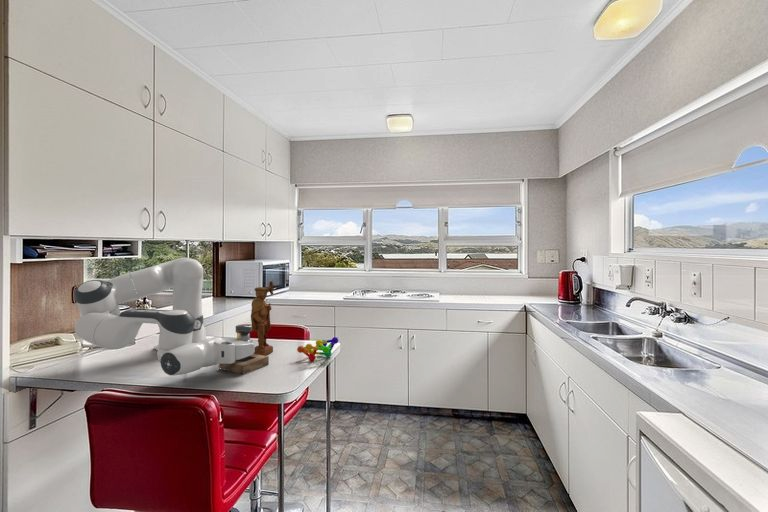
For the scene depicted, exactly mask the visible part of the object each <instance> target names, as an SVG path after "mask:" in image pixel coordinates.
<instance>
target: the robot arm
mask: <svg viewBox="0 0 768 512" xmlns="http://www.w3.org/2000/svg"><path fill="white" fill-rule="evenodd" d="M203 287H204V267H203V265H202V263H201V262H200V261H198V260H196V259H195V258H190V257H180V258H179V257H178V258H176V259H172V260H169V261H166V262H165V261H164V262H163V263H159V264H156V265H152V266H149V267H146V268H141V269H138V270H135V271H131V272H127V273H123V274H121V275H118V276H116V277H115V276H114V277H112V278H110V279H108V280H106V281H105V280H102V279H92V280H86V281H85V282H82V283H80V284H79V285H78V286H77V287H76V288H75V290H74V292H73V297H74V301H75V302H76V305H77V308H78V310H79V312H80V317H79V318H78V319H77V321H76V322H75V324H74V332H75V335H76V336H77V337H78V338H80V339H82V340H83V341H84V342H87V343H88V344H91V345H94V346H98V347H100V348H103V349H108V350H120V349H124V348H126V347H127V346H128V345H129V344H131V343H132V342H133V341H134V340H135V339H136V337H137V336H138V335H139V332H140V329H141V327H142V325H143V324H151V325H152V324H153V325H155V324H156V325H158V326H157V327H158V328H159V333H158V344H157V345H155V346H153V349H154V350H155V349H156V351H157V350H158V351H157V352H156V353H157V355H156V357H157V361H158V362H159V363H160V367H161V369H162V371H163V372H164V373H165V374H166V375H168V376H181V375H185V374H190V373H194V372H196V371H199V370H200V369H202V368H206V367H207V368H208V367H210V366H216V365H220V364H232V363H234V362H235V360H239V359H242V358H245V357H248V356H250V355H252V354H254V352H255V347H256V346H255V343H254V341H253V340H252V339H250V340H247V341H246V342H245V341H239V340H237V338H227V337H222V336H221V337H220V336H213V337H210V338H207V334H206V327H205V326H204V315H203V308H202V307H203V301H202V299H203V298H202V296H203V295H202V294H203ZM170 289H172V299H171V301H172V310H171V309H170V310H168V309H166V310H165V309H151V308H150V309H148V308H147V309H145V308H138V309H137V308H133V309H127V310H124V311H121V310H120V306H119V305H120V304H123V303H127V302H128V303H130V302H133V301H136V300H139V299H143V298H146V297H150V296H153V295H157V294H160V293H162V292H165V291H167V290H170Z"/></svg>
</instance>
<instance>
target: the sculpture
mask: <svg viewBox="0 0 768 512" xmlns="http://www.w3.org/2000/svg"><path fill="white" fill-rule="evenodd" d="M274 288H275V284H274V282H273V280H269V283H268V286H263V287H261V286H259V287H257V286H256V287H255V288H254V289H253V290H254V291H255V296H256V297H253V299H252V301H251V310H250V321H251V322H250V323H251V325H252V332H256V333H257V338H258V339H257V342H258V344H257V345H256V346H255V352H254V354H258V355H263V356H268V355H270V354H271V353H273V352H274V346H273V345H270V344H268V343H267V339H268V337H267V335H268V331H270V330H271V329H272V325H271V317H270V316H271V313H270V312H271V311H272V305H271V302H269V303H268V304H267V302H266V297H267V296H268V292H269V293H270V296H272V295H274Z"/></svg>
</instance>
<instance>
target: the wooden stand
mask: <svg viewBox="0 0 768 512" xmlns="http://www.w3.org/2000/svg"><path fill="white" fill-rule="evenodd" d="M269 362H270V359H269V356H268V355H266V356H263V355H258V354H252V355H250V360H248V361H245V362H241V361H239V360H235V362H234V363H232V364H219V369H220V368H221V369H220V370H222V369H225V370H224V371H226V370H228V371H227V372H231V371H232V372H233V373H235V372H237V373H236V374H240V373H242V374H241V375H245V374H248V373H250V371H251V372H253V371H256V370H258V369H261V368H263V367H265V365H266V366H269V365H270V364H269ZM268 364H269V365H268ZM262 366H263V367H262ZM260 367H261V368H260ZM257 368H258V369H257ZM255 369H256V370H255ZM252 370H253V371H252ZM232 372H231V373H232ZM247 372H248V373H247ZM244 373H245V374H244Z"/></svg>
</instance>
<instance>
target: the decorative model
mask: <svg viewBox="0 0 768 512" xmlns="http://www.w3.org/2000/svg"><path fill="white" fill-rule="evenodd" d="M338 343H339V338H338V337H337V336H334V337H332V338H331V339H326V340H325V339H316V340H315V346H314V345H313V344H311V343H307V344H306V345H305V346H303V345H299V346H298V347H297V348H296V351H297V353H299V354H301V353H303V354H304V355H306V356H307V357H308V360H309V362H314V361H315V360H316V355H317V356H318V355H319V356H320V355H321V356H325V358H330V357H331V356H332V350H333V348H334V346H335V345H337V344H338Z"/></svg>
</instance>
